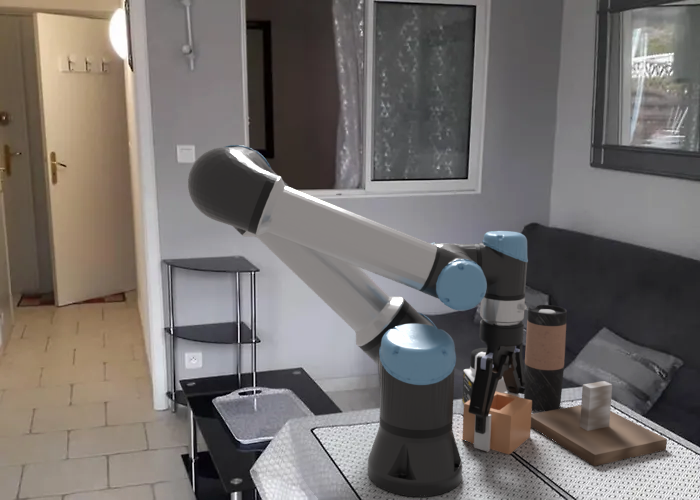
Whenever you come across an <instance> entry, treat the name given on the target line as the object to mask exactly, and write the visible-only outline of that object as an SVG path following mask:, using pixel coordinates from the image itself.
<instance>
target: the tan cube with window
mask: <svg viewBox="0 0 700 500" xmlns="http://www.w3.org/2000/svg"><path fill="white" fill-rule="evenodd" d="M470 400H471V399H470ZM470 400H469V401H467V402H466V403H463V412H462V413H463V415H462V416H463V417H462V439H461V440H466V441H468V442H471V443H470V444H472V443H474V431H475V414H472V413H469V405H470ZM532 410H533V409H532V400H528V399H524V397H520V396H519V397H516V396H512V395H508V394H504V393H500V392H496V391H495V394H494V398H493V401H492V405H491V408H490V412H489V414H491V437H490V450H493V451H495V452H499V453H502V454H504V455H505V454H506V455H511V454H512V453H513V452H514V451H515V450H518V448H519V447H520V446H521V445H523V443H525V442H526V441H527V440H529V438H531V429H532V427H531V414H532ZM468 442H467V443H468Z"/></svg>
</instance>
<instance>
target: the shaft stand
mask: <svg viewBox="0 0 700 500" xmlns="http://www.w3.org/2000/svg"><path fill="white" fill-rule="evenodd" d="M581 391H582V392H581V401H580V402H581V404H579V405H573V406H569V407H567V406H566V407H563V408H559V409H556V410H551V411H539V412H536V413H535V412H534V413H531V429H533V428H534V429H533V430H535V429H536V430H535V431H537V430H538V431H539V432H538V431H537V432H538V433H540V432H541V433H543V434H544V435H543V434H542V435H543V436H545V435H546V436H547V437H546V436H545V437H546V438H548V437H549V438H548V439H550V438H551V439H553V440H554V441H556V442H557V443H556V442H555V443H556V444H558V443H559V444H560V445H559V444H558V445H559V446H561V447H562V446H563V448H564V449H566V450H567V451H569V452H571V453H572V454H574V455H576V456H577V457H579V458H580V459H581V460H584V461H585V462H587V463H588V464H590V465H592V466H593V467H597V466H602V465H606V464H611V463H615V462H620V461H623V460H622V459H624V460H627V459H626V458H628V459H631V458H630V457H632V458H635V457H636V456H637V457H642V456H645V455H650V454H653V453H654V454H655V453H658V452H662V451H667V445H668V444H667V443H668V439H667V438H666V437H663V436H661V435H660V434H658V433H655V432H653V431H651V430H650V429H648V428H645V427H644V426H642V425H639V424H637V423H636V422H633V421H632V420H630V419H627V418H625V417H623V416H622V415H619V414H618V413H616V412H614V411H611V408H612V407H611V406H612V405H611V404H612V393H613V392H612V391H613V384H612V383H610V382H608V381H605V380H603V381H595V382H590V383H584V384H582V390H581ZM541 433H540V434H541ZM551 439H550V440H551ZM553 440H552V441H553ZM554 441H553V442H554Z"/></svg>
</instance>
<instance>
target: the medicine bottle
mask: <svg viewBox="0 0 700 500" xmlns="http://www.w3.org/2000/svg"><path fill="white" fill-rule="evenodd" d="M486 350H487V347H479V348H476V349H473V350H472V351H471V352H470V363H469V364H470V365H469V366H470V367H469V368H465V369H463V370H462V371H463V373H462V374H463V375H462V376H463V377H462V395H461V396H462V403H463V404H464V403H466V402H467V401H469V400H470V399H471V395H472V390H473V384H474V379H475V374H476V368H477V357H478V356H485V354H486ZM494 373H495V372H494ZM496 392H500V393H504V392H509V391H508V390H507V388H506V385H505V382H504V379H503V377H502V379H500V380H499V381H498V384H497V388H496Z"/></svg>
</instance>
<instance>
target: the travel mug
mask: <svg viewBox="0 0 700 500" xmlns="http://www.w3.org/2000/svg"><path fill="white" fill-rule="evenodd" d="M527 308H528V309H527V320H526V322H527V323H526V336H525V337H526V338H525V353H524V354H525V355H524V356H525V357H524V374H525V387H523V388H525V393H524V394H523V398H524V399H528V400H532V410H534V411H539V412H545V411H551V410H556V409H561V401H562V393H563V392H562V391H563V390H562V389H563V382H564V371H565V355H566V338H567V337H566V336H567V334H566V333H567V332H566V331H567V317H568V311H567V309H566V308H564V307H561V306H557V305H549V304H538V305H537V306H536V307H533V308H531V307H530V306H529V307H527Z"/></svg>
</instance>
